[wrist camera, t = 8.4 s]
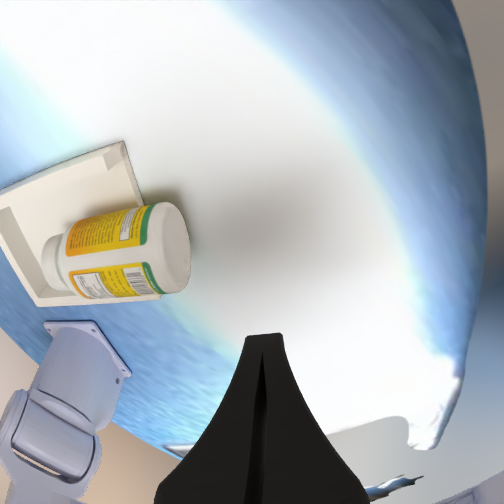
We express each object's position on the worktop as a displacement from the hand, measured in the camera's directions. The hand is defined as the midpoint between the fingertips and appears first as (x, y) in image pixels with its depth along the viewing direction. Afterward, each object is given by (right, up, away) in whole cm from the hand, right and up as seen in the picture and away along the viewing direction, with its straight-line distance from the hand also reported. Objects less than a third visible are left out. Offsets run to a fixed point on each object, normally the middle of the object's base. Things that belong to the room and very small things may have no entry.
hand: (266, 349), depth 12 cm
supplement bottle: (-5, +4, +6) cm, 9 cm away
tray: (-14, +6, +9) cm, 17 cm away
